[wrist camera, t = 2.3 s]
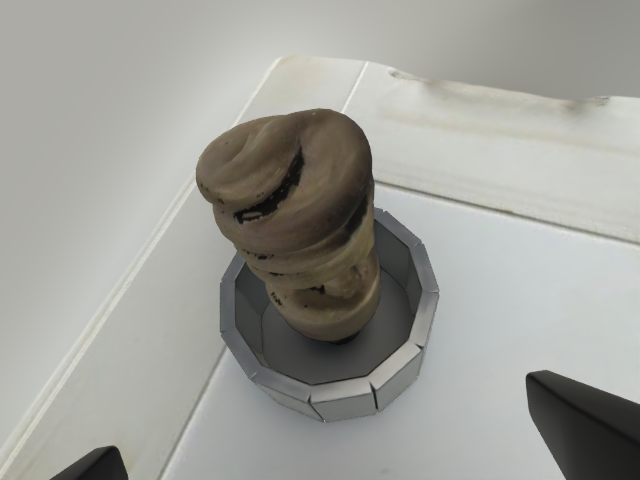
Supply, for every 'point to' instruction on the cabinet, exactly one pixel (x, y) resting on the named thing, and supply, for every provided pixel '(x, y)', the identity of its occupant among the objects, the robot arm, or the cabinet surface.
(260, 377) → the faceted gray ring
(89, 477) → the robot arm
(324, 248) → the light bulb
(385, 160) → the cabinet surface
